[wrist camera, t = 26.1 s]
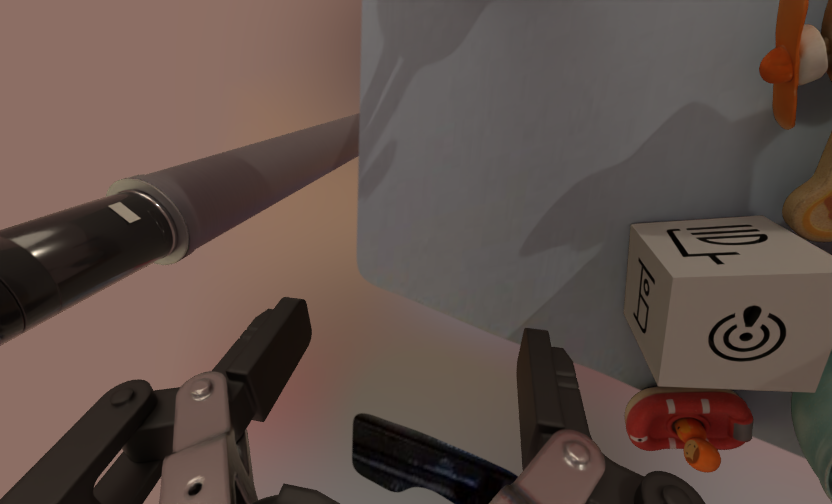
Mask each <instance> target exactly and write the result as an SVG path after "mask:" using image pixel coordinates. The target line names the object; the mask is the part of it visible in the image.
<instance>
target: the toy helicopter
mask: <svg viewBox="0 0 832 504" xmlns="http://www.w3.org/2000/svg"><path fill="white" fill-rule="evenodd" d="M807 10H808V0H780V3H779V9H778V16H777V24H776V48H775V49H773V50H772V51H770V52H769V53H768V54H767V55H766V56H765V57H764V58H763V60H762V62H761V64H760V67H759V72H760V75H761V77H762V78H763V80H765V81H766V82H768V83H773V84H774V85H773V113H774V116H775V120H776V121H777V122H778V124H779V125H780V126H781V127H782V128H784V129H787V130H789V129H791V128H793V127H794V126H795V121H796V108H797V90H798V85H803V84H807V83H809V82H812V81H814V80H817V79H819V78H821V77H822V76H823V75H824V73H825V72H827V74H828V76H829V78H830V80H831V82H832V0H829V1H828V4H827V7H826V10H825V13H824V18H823V22H822V29H821V34H820V32H819V31H818V30H817V29H816V28H815V27H814V26H813V25H810V24H806V25H804V23H805V18H806V14H807ZM782 214H783V218H784V220H785V222H786V223H787V224H788V225H789V226H790V228H791V229H792V230H793V231H794V232H796V233H797V234H798V235H799V236H800V237H803V238H805V239H807V240H811V241H816V242H832V132H831V134H830V137H829V139H828V141H827V144H826V146H825V149H824V151H823V154H822V156H821V159H820V161H819V164H818V166H817V168H816V171H815V173H814V175H813V176H812V177H811V178H810V179H809V180H808V181H807V182H806V183H804V184H802V185H801V186H799V187H798V188H796V189H795V190H794V191H793V192H792V193H791V194H790V195H789V196H788V198H787V199H786V201H785V203H784V205H783V209H782Z"/></svg>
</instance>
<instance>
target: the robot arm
mask: <svg viewBox="0 0 832 504" xmlns="http://www.w3.org/2000/svg"><path fill="white" fill-rule="evenodd" d="M177 245H178V231H177V227H176V224H175V222H174V220H173V218H172V216H171V215H170V213H169V212H168V211H167V209H166V208H165V207H164V206H163V205H162V204H161V203H160V202H159V201H158V200H157V199H155V198H154V197H153V196H151V195H149V194H148V193H145V192H143V191H140V190H136V189H127V190H123V191H120V192H117V193H116V194H113V195H110V196H107V197H104V198H101V199H98V200H94V201H91V202H88V203H85V204H81V205H78V206H75V207H72V208H69V209H66V210H63V211H59V212H56V213H53V214H50V215H47V216H44V217H40V218H38V219H35V220H31V221H28V222H25V223H22V224H19V225H15V226H12V227H9V228H6V229H3V230H0V346H1V345H3V344H4V343H6V342H8V341H10V340H12V339H14V338H15V337H17V336H19V335H20V334H22V333H24V332H26V331H28V330H30V329H32V328H34V327H35V326H37V325H39V324H41V323H43V322H45V321H46V320H48V319H50V318H52V317H54V316H55V315H57V314H59V313H61V312H63V311H65V310H66V309H68V308H70V307H72V306H74V305H76V304H78V303H79V302H81V301H83V300H85V299H87V298H89V297H90V296H92V295H94V294H96V293H98V292H100V291H102V290H104V289H105V288H107V287H109V286H111V285H113V284H115V283H117V282H118V281H120V280H122V279H124V278H126V277H128V276H129V275H131V274H133V273H135V272H137V271H139V270H141V269H142V268H144V267H146V266H148V265H150V264H152V263H154V262H156V261H157V260H159V259H162V258H165V257H167V256H168V255H170V254H172V253H173V252H174V251H175V249H176V247H177ZM311 335H312V329H311V324H310V319H309V314H308V309H307V304H306V301H305V300H304V299H297V298H289V297H284V298H282V299H281V300H280V301H279V303H278V304H277V305H276V307H275V308H274V309H268V310H266V311H265V312H263V313H262V314H260V315H259V316H257V317H256V318H255V319H254V320H253V322H252V323H251V324H250V325H249V326H248V328H247V330H245V331H244V332H243V334H242V335H241V336H240V339H238V340H237V341H236V342H235V343H234V345H233V346H232V347H231V348H230V349H229V351H228V352H227V353H226V354H225V356H224V357H223V358H222V359H221V360H220V362H219V363H218V364H217V365H216V366H215V368H214V369H213V370H212V371H209V372H204V373H201V374H198V375H196V376H194V377H192V378H191V379H189V380H188V381H186V382H185V383H184V384H183V385H182V386H181V387H178V388H171V389H164V390H155V391H153V389H152V387H151V386H150V384H149V383H148V382H147V381H145V380H131V381H127V382H125V383H122V384H120V385H118V386H116V387H114V388H113V389H111V390H109V391H108V392H107V393H106V394H104V395H103V396H102V397H101V398H100V399H99V400H98V401H97V402H96V403H95V404H94V406H93V407H91V408H90V409H89V411H87V412H86V414H85V415H84V416H83V417H82V418H81V419H80V420H79V421H78V422H77V423H76V424H75V425H74V426H73V427H72V428H71V429H70V430H69V431H68V432H67V433H66V434H65V435H64V436H63V437H62V438H61V439H60V440H59V441H58V442H57V443H56V444H55V445H54V446H53V447H52V448H51V449H50V450H49V451H48V452H47V453H46V454H45V455H44V456H43V457H42V458H41V459H40V460H39V461H38V462H37V463H36V464H35V465H34V466H33V467H32V468H31V469H30V470H29V471H28V472H27V473H26V474H25V475H24V476H23V477H22V478H21V479H20V480H19V481H18V482H17V483H16V484H15V485H14V486H13V487H12V488H11V489H10V490H9V491H8V492H7V493H6V494H5V495H4V496H3V497H2V498H1V499H0V504H143V502H144V501H145V499H146V498H147V496H148V495H149V494H150V492H151V491H152V489H153V488H154V486H155V485H156V483H157V482H158V480H159V479H160V477H161V476H162V478H161V490H160V502H159V504H340V503H338V502H336V501H334V500H332V499H331V498H329V497H327V496H326V495H324V494H322V493H321V492H319V491H317V490H313V489H308V488H303V487H298V486H293V485H288V484H283V486H282V488H281V490H280V493H279V495H274V496H270V497H266V498H263V499H261V500H258V498H257V495H256V491H255V487H254V482H253V474H252V466H251V458H250V449H249V441H248V433H247V430H246V428H247V426H248V425H249V423H250V421H251V420H256V421H260V422H264V421H265V419H266V418H267V416H268V414H269V412H270V411H271V409H272V407H273V406H274V404H275V402H276V401H277V399H278V397H279V395H280V394H281V392H282V390H283V388H284V387H285V385H286V383H287V382H288V380H289V378H290V377H291V375H292V373H293V371H294V370H295V368H296V366H297V365H298V363H299V361H300V359H301V358H302V356H303V354H304V352H305V351H306V349H307V347H308V346H309V343H310V340H311ZM578 387H579V386H578V382H577V378H576V373H575V369H574V365H573V361H572V360H571V358H570V357H569V356H568V354H567V353H566V351H565V350H564V349H563V348H557V347H551V343H550V337H549V333H548V331H546V330H538V329H530V328H525V329H524V333H523V337H522V342H521V347H520V352H519V356H518V361H517V388H518V404H519V420H520V434H521V451H522V467H523V472H522V473H521V474H520V476H519V477H518V478H517V479H516V480H515V482H514V483H513V484H512V485H510V486H509V485H506V486H505V487H503V488H502V489H501V490H500V491H499V493H498V494H497V495H496V496H495V497H494V499H493V500H492V501H491V502H490V503H489V504H705V502H704V501H703V499H702V498H701V496H700V495H699V494H698V493H697V492H696V491H695V490H694V488H693V487H691V486H690V485H689V484H688V483H687V482H685V481H684V480H682V479H680V478H679V477H677V476H675V475H673V474H671V473H667V472H663V471H654V472H651V473H648V474H647V475H646V476H645V477H644V476H641V475H639V474H637V473H635V472H633V471H631V470H629V469H627V468H624V467H622V466H620V465H618V464H616V463H615V462H613V461H612V460H610V459H609V458H607V457H606V456H605V455H604V454H603V453H602V452H601V450H600V448H599V447H598V446H597V444H596V443H595V442H594V441H593V440H592V438H591V436H590V433H589V429H588V424H587V420H586V416H585V411H584V407H583V403H582V399H581V395H580V390H579V389H578ZM121 449H123V453H122V454H121V455H120V456H119V457H118V459H117V460H116V461H115V462H114V464H113V465H112V466H111V467H110V469H109V470H108V471H107V472H106V474H105V475H104V476H103V477H102V478H101V480H100V481H99V482H98V484H97V485H96V486H95V487H94V485H95V482H96V480H97V478H98V477H99V476H100V474H101V473H102V472H103V471H104V469H105V468H106V467H107V466H108V464H109V463H110V462H111V461H112V460H113V458H114V457H115V456H116V455H117V454H118V452H119V451H120V450H121Z"/></svg>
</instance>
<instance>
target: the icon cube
mask: <svg viewBox="0 0 832 504" xmlns="http://www.w3.org/2000/svg"><path fill="white" fill-rule="evenodd" d="M624 315H625V318H626V320H627V322H628V324H629V326H630V328H631V330H632V332H633V335H634V337H635V339H636V341H637V343H638V345H639V347H640V349H641V351H642V354H643V356H644V358H645V360H646V362H647V364H648V366H649V368H650V371H651V373H652V375H653V377H654V379H655V381H656V383H657V385H658V386H662V387H687V388H712V389H736V390H761V391H786V392H810V393H815V392H816V389H817V387H818V384H819V381H820V379H821V376H822V373H823V371H824V368H825V365H826V363H827V360H828V357H829V355H830V352H831V349H832V255H830V254H829V253H827V252H825V251H823V250H822V249H820V248H818V247H816V246H815V245H813V244H811V243H809V242H808V241H806V240H804V239H802V238H801V237H799V236H797V235H795V234H794V233H792V232H790V231H789V230H787V229H785V228H783V227H782V226H780V225H778V224H776V223H775V222H773V221H771V220H769V219H768V218H766V217H764V216H762V215H760V216H745V217H730V218H715V219H699V220H684V221H669V222H654V223H639V224H631V227H630V240H629V252H628V265H627V277H626V290H625V302H624Z"/></svg>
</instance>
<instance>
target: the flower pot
mask: <svg viewBox="0 0 832 504" xmlns="http://www.w3.org/2000/svg"><path fill="white" fill-rule="evenodd" d="M791 412H792V420H793V425H794V429H795V433H796V436H797V439H798V441H799V444H800V446H801V449H802V451H803V453H804V455H805V457H806V459H807V461H808V463H809V464H810V466H811V467H812V469H813V471H814V472H815V474H816V475H817V477H818V478H819V480H820V483H821V485H822V487H823V489H824V491H825V493H826V494H827V496H828V497H829V499H830V500H831V502H832V349H831V352H830V355H829V357H828V360H827V363H826V365H825V368H824V371H823V373H822V376H821V379H820V381H819V384H818V387H817V389H816V392H815V393H810V392H793V393H792V400H791Z"/></svg>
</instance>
